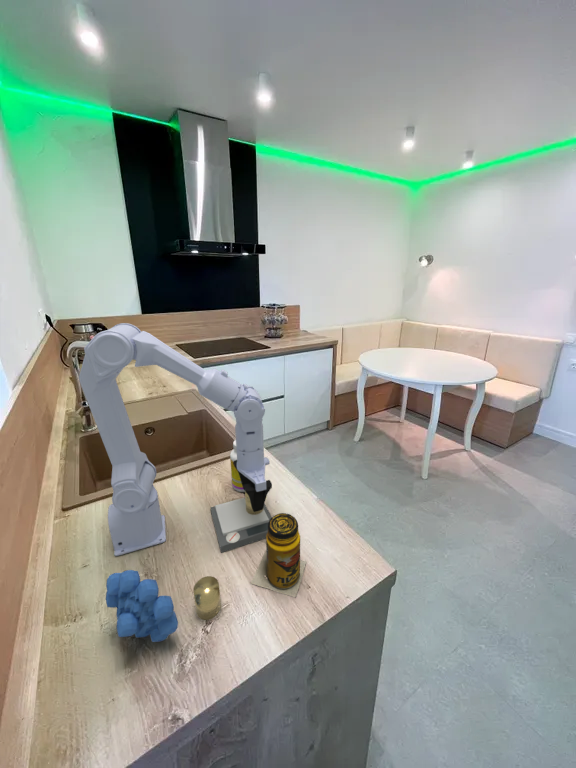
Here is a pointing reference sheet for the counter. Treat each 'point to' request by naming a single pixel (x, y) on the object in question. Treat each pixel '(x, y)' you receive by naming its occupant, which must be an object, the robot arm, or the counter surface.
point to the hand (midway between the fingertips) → (252, 498)
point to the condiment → (281, 557)
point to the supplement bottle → (235, 471)
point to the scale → (238, 524)
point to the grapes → (140, 606)
